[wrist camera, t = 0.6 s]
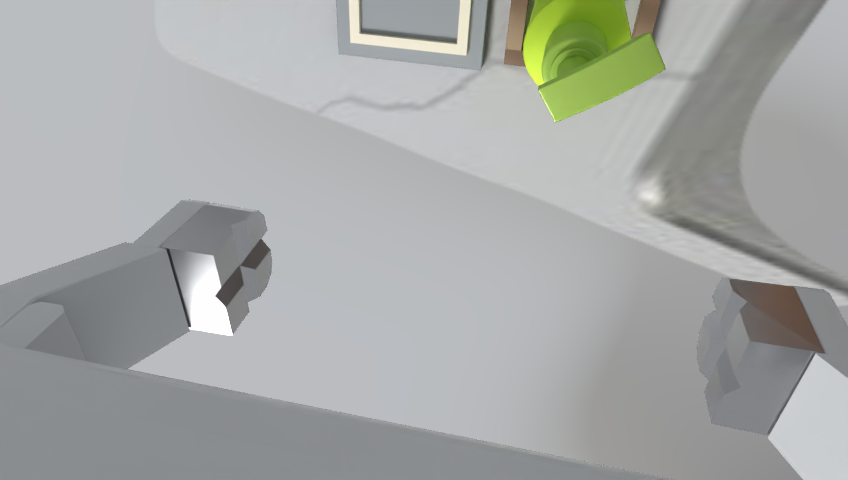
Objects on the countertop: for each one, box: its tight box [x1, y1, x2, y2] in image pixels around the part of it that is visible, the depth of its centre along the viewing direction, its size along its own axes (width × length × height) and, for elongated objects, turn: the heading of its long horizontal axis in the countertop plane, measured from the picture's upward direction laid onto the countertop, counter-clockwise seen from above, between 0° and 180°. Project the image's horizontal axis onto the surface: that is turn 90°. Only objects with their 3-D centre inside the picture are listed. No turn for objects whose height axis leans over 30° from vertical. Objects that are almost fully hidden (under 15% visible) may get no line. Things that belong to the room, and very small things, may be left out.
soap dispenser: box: [523, 0, 665, 122], centre depth 35 cm, size 6×7×20 cm
